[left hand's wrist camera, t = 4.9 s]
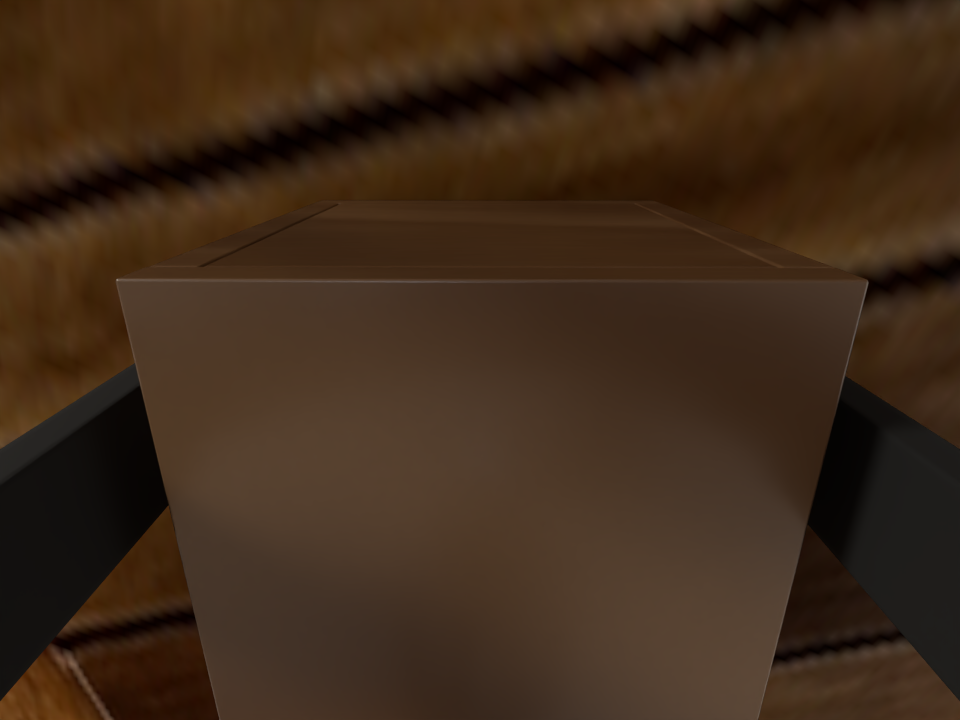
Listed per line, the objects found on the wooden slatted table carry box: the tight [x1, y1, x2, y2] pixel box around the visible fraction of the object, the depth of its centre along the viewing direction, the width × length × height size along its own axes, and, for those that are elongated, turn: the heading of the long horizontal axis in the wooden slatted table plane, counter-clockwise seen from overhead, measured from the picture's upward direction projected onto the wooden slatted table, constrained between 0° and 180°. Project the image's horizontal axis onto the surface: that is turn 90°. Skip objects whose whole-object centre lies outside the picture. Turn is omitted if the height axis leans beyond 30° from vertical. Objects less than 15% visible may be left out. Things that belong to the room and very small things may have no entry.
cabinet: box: [116, 200, 868, 720], centre depth 17 cm, size 20×11×11 cm, turn 0°
